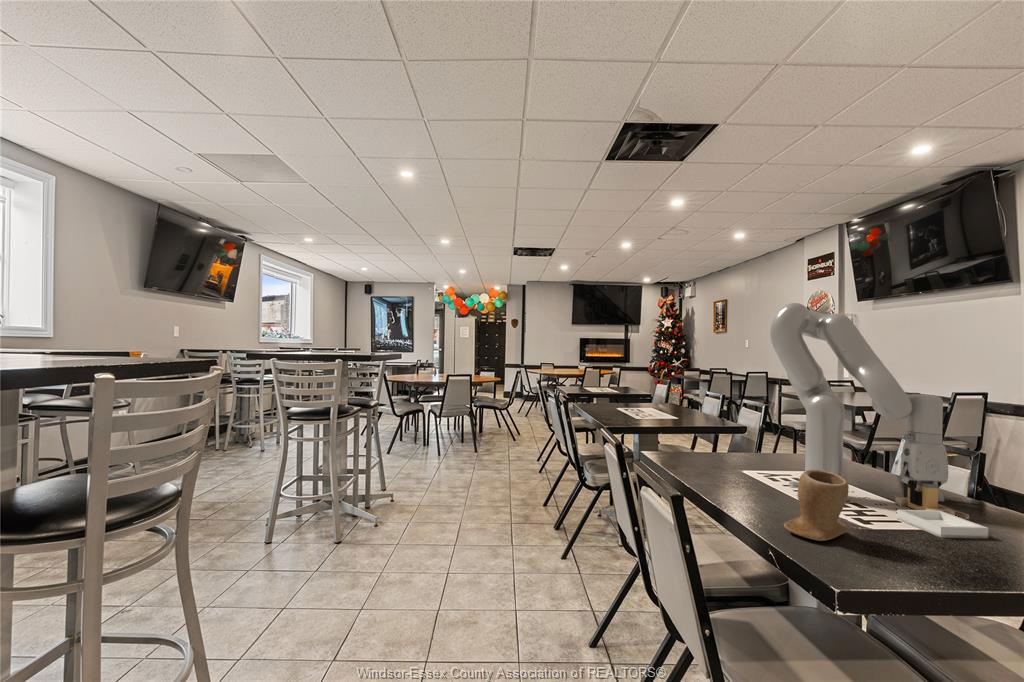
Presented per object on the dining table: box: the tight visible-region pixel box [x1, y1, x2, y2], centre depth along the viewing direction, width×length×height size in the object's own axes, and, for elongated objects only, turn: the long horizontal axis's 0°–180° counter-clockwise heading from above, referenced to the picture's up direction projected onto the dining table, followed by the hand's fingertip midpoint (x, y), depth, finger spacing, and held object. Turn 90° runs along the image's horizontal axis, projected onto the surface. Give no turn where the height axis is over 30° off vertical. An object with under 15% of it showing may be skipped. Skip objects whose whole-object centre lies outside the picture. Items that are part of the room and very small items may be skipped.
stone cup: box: [783, 469, 849, 542], centre depth 109 cm, size 15×12×15 cm
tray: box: [896, 509, 989, 539], centre depth 116 cm, size 12×12×2 cm
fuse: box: [907, 481, 939, 510], centre depth 129 cm, size 3×6×8 cm, turn 2°
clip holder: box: [894, 496, 970, 520], centre depth 129 cm, size 10×12×2 cm
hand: (922, 504), depth 129 cm, fingers closed on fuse, 3 cm apart
